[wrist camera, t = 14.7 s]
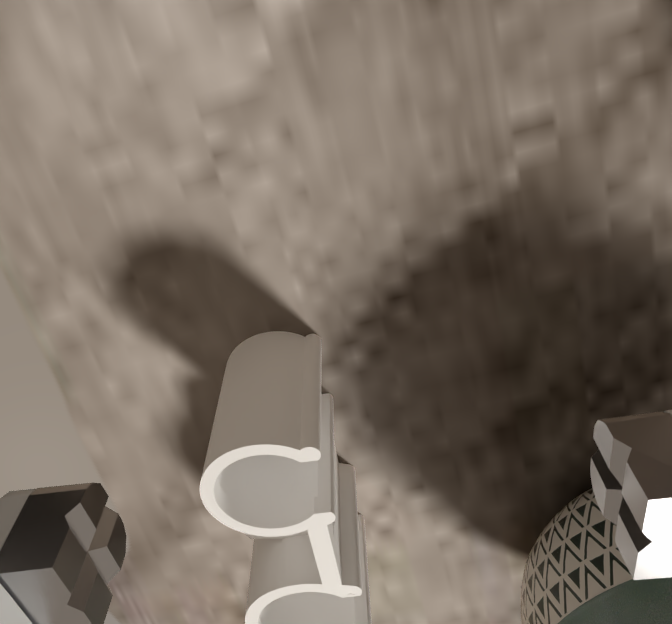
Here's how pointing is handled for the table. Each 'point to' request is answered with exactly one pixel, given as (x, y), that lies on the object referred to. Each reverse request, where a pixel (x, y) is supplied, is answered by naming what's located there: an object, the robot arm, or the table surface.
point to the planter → (587, 575)
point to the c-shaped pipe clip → (287, 485)
